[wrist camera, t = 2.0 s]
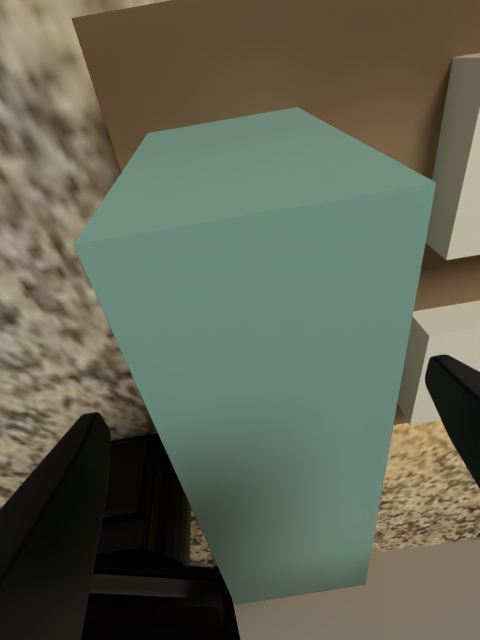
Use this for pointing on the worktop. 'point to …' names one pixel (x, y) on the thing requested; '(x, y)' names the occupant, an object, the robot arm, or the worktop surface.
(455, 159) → the tile
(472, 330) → the tile
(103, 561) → the robot arm
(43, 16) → the worktop surface
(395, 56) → the board
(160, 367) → the tapered teal post
